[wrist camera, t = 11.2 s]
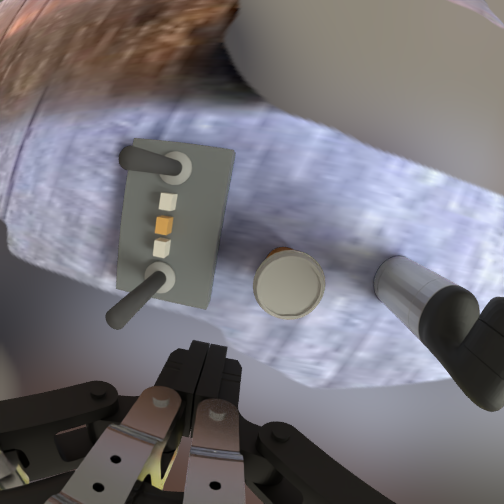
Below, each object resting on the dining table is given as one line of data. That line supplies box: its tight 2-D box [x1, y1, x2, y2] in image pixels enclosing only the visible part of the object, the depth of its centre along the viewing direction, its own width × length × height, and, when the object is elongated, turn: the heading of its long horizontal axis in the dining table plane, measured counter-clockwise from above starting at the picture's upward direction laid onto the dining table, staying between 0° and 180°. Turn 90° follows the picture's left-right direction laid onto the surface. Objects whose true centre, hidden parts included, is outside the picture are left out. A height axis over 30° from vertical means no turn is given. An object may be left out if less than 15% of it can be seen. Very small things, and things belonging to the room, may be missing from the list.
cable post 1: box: [119, 146, 192, 185], centre depth 34 cm, size 5×5×17 cm
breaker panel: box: [116, 138, 236, 309], centre depth 45 cm, size 16×25×7 cm, turn 169°
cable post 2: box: [106, 261, 176, 330], centre depth 38 cm, size 5×5×17 cm
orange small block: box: [155, 215, 173, 235], centre depth 43 cm, size 2×2×3 cm
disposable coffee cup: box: [253, 247, 325, 320], centre depth 43 cm, size 10×10×12 cm
